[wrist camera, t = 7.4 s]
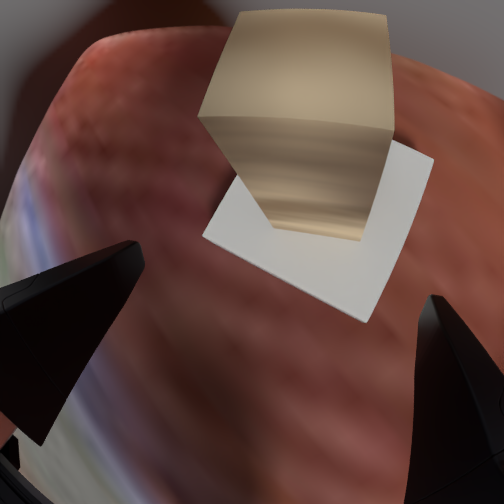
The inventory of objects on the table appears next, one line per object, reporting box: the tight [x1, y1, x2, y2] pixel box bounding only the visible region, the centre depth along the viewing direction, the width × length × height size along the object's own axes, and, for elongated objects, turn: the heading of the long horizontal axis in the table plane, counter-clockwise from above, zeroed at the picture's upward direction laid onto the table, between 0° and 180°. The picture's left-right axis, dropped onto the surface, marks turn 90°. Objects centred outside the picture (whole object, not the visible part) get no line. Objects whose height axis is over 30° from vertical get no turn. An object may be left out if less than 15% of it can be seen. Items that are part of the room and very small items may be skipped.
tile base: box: [202, 140, 434, 323], centre depth 21 cm, size 12×12×2 cm
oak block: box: [198, 9, 394, 242], centre depth 14 cm, size 6×6×12 cm
